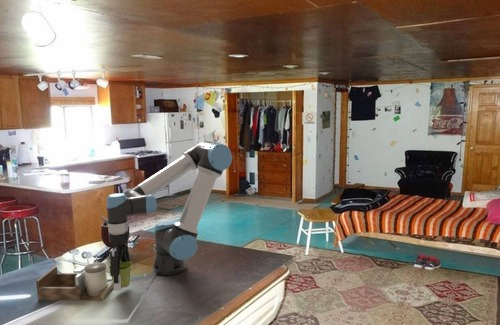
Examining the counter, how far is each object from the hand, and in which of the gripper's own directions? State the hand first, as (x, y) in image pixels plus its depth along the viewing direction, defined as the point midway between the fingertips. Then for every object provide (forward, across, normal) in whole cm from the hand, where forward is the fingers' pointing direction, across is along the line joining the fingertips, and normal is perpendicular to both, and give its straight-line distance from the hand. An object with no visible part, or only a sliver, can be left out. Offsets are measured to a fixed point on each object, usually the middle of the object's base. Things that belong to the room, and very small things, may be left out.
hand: (121, 284), depth 164 cm
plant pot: (0, 0, 0) cm, 0 cm away
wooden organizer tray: (+4, 0, -18) cm, 19 cm away
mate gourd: (+4, -44, -19) cm, 48 cm away
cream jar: (+3, 0, -10) cm, 11 cm away
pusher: (+3, 0, -17) cm, 17 cm away
